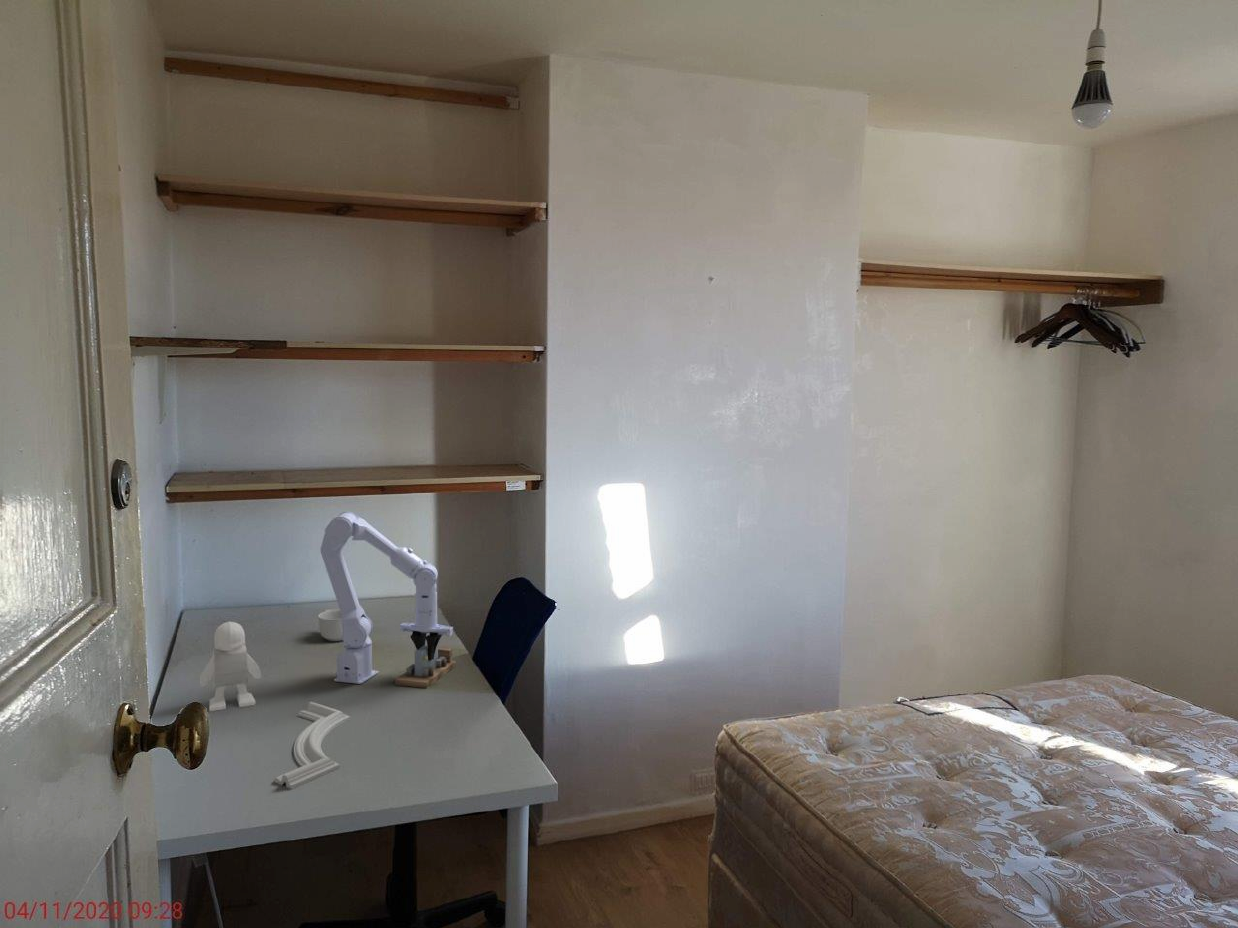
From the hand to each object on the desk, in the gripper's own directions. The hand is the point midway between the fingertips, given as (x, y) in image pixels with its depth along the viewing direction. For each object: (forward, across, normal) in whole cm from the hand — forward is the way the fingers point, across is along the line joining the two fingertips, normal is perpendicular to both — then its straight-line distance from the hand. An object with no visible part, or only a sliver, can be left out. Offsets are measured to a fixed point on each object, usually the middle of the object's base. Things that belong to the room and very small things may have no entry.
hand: (426, 659), depth 237 cm
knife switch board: (+4, 0, 0) cm, 4 cm away
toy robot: (+5, +37, +31) cm, 48 cm away
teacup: (+5, +42, -24) cm, 49 cm away
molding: (+5, +5, +48) cm, 49 cm away
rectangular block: (+3, 0, 0) cm, 3 cm away
